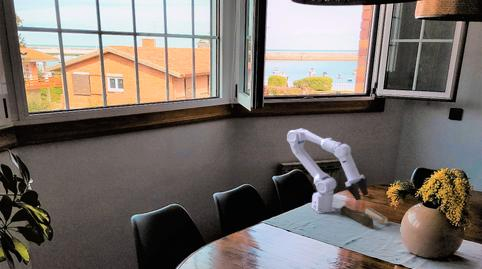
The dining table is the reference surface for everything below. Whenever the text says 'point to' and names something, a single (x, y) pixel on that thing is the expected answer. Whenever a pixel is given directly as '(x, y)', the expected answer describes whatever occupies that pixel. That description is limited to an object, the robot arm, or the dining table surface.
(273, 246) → the dining table surface
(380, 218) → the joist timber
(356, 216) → the hand tool
